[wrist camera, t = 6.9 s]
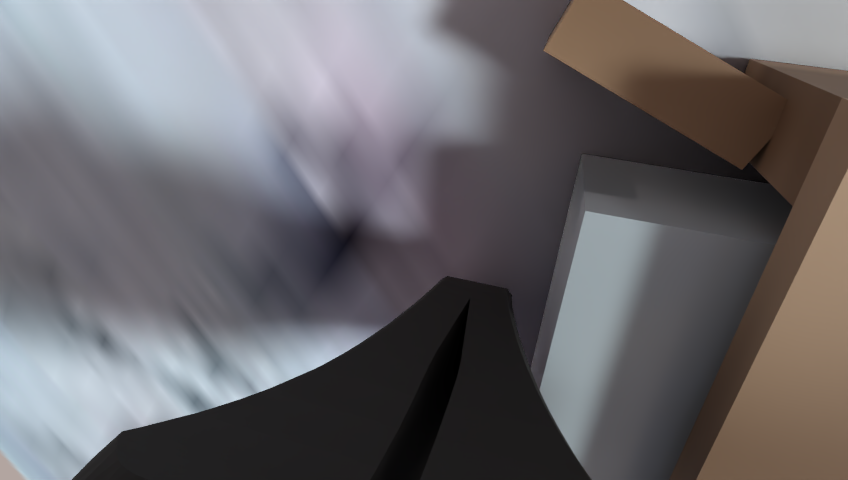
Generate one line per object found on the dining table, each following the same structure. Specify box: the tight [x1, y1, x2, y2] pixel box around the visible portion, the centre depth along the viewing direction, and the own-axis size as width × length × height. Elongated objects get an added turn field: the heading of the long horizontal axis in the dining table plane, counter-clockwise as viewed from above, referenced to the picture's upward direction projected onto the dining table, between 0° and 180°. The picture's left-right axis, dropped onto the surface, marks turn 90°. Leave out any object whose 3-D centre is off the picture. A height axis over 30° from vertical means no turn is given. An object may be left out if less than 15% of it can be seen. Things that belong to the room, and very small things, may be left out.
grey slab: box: [531, 154, 793, 480], centre depth 9 cm, size 7×10×3 cm
